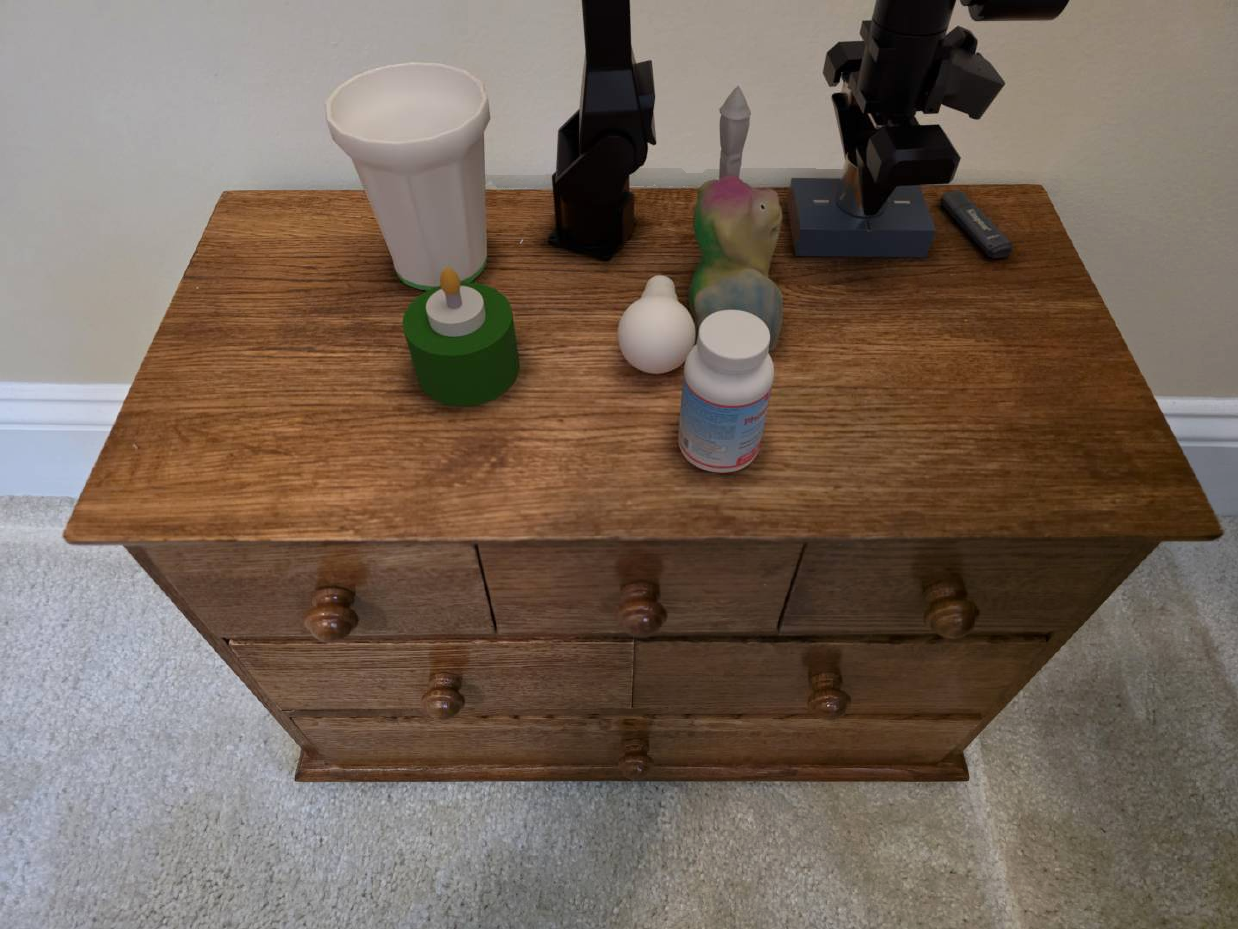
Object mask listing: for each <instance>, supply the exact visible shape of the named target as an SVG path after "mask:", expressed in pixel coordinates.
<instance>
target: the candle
mask: <svg viewBox="0 0 1238 929" xmlns="http://www.w3.org/2000/svg"><path fill="white" fill-rule="evenodd" d="M440 285H441V286H438V287H435V288H432V289H430V290H428V291H427V290H425V291H424V292H422V293H421V294H420V295H419V296H417V297H415V298H414V299H413V301H411V302H410V303H409V304H408V306H407V308H406V309H405V311H404V314H403V317H402V324H401V326H402V330H403V333H404V336H405V340H406V343H407V347H408V350H409V351H408V352H409V354H410V358H411V362H412V365H413V368H414V372H415V376H416V379H417V383H418V385H419V387H420V388H421V391H422V392H424V393H425V395H426V396H427V397H429V398H430V399H431V400H433V401H434V402H438V403H440V404H443V405H445V406H451V407H472V406H473V407H475V406H479V405H483V404H487V403H489V402H491V401H493V400H496V399H498V398H499V397H500V396H502V395H503V394H505V393H506V392H507V391H508V390H510V388H511V387H512V386H513V385H514V383H515V382H516V380H517V378H518V376H519V372H520V369H521V368H520V358H519V357H520V356H519V351H518V343H517V336H516V330H515V322H514V315H513V308H512V306H511V303H510V301H509V300H508V298H507V297H506V296H505V294H503V293H501V291H499V290H497V289H496V288H494V287H492V286H489V285H486V284H483V283H479V282H473V281H471V282H460V279H459V277H458V275H457V274H456V272H455V271H454V270H452V269H450V268H446V269H444V270H443V272H442V274H441V277H440Z"/></svg>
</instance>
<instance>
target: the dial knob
mask: <svg viewBox="0 0 1238 929" xmlns="http://www.w3.org/2000/svg"><path fill="white" fill-rule="evenodd" d="M857 147H868V144H862V145H858V146H855V147H853V148H851V149H850V150H849V151H848V153H847V155H846V160H845V159H844V164H843V168H842V169H843V170H842V172H841V177H840V178H841V181H840V185H839V189H838V193H837V197H836V201H837V204H838V206H839V207H840V208H841V209H842V210H843V211H845V212H847V213H849V214H851V215H854V216H859V217H872V216H877V215H879V214H881V213H882V212H884V211H885V209H886V208H887V204H888V201H889V198H890V196H889V198H888V199H887V200H886V202H885V203H884V205H883V206H882V207H881V209H880V210H879V211H878V213H877V214H876V215H864V212H863V206H862V199H861V190H860V181H859V172H858V164H857V155H856V148H857Z"/></svg>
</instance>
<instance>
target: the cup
mask: <svg viewBox="0 0 1238 929" xmlns="http://www.w3.org/2000/svg"><path fill="white" fill-rule="evenodd" d="M490 109H491V108H490V101H489V97H488V94H487V90H486V88H485V85H484V83H483V82H482V81H480V80H479V79H478V78H477V77H476V76H474V75H473V74H472V73H470V72H469V71H468V70H465V69H462V68H459V67H455V66H452V65H448V64H445V63H440V62H439V63H438V62H423V61H410V62H402V63H392V64H386V65H382V66H378V67H376V68H372V69H369V70H366V71H363V72H360V73H358V74H355V75H354V76H352V77H350V78H349V79H348V80H346V81H344V82H343V83H341V84H340V85H338V86H336V87H335V89H334V90H333V92H332V94H330V95H329V97H328V99H327V100H326V101H325V103H324V110H325V121H326V124H327V127H328V130H329V132H330V135H331V138H332V141H333V142H334V143H335V144H336V145H337V146H338V147H339V149H341V150H342V151H343V152H344V153H345V154H346V155H347V156H348V157H349V158H350V160H351V162H352V164H353V166H354V168H355V172H356V174H357V176H358V179H359V181H360V184H361V185H362V189H363V191H364V194H365V195H366V198H367V201H368V203H369V205H370V208H371V210H372V213H373V215H374V218H375V220H376V222H377V225H378V227H379V230H380V232H381V233H382V237H383V239H384V242H385V244H386V247H387V249H388V251H389V254H390V256H391V258H392V264H393V267H394V271H395V274H396V275H397V276H398V278H399V279H400V280H401V281H402V282H403V283H404V284H405V285H408V286H409V287H412V288H415V289H417V290H421V291H428V290H430V289H432V288H435V287H438V286H441V285H440V277H441V274H442V272H443V270H444V269H446V268H450V269H452V270H454V271H455V272H456V274H457V275H458V277H459V279H460V282H473V281H474V280H475V279H476V278H477V277H479V275H481V273H482V272H483V271H484V269H485V267H486V265H487V262H488V238H487V236H488V234H487V203H486V202H487V198H486V195H487V194H486V158H485V156H486V155H485V131H486V129H487V127H488V125H489V123H490V121H491V111H490Z"/></svg>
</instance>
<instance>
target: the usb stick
mask: <svg viewBox="0 0 1238 929" xmlns="http://www.w3.org/2000/svg"><path fill="white" fill-rule="evenodd" d="M939 203H940V205H941V206H942V207H943V208H944V209H945V210H946V212H947V213H949V215H950V216H951V218H952V219H954V221H955V222H956V223H957V225H959V226H960V227H961V228H962V229H963V231H964V232H966V234H967V235H968V237H969V238H970V239H971V240H972V241H973V242H974V243H975V244H976V245H977V246H978V248H980V249H981V251H982V252H983V253H984V254H985V255H986V256H987V257H988V258H991V259H1000V258H1005V257H1008V256H1010V255H1011V254H1012V252H1013V247H1014V246H1013V243H1012V242H1011V240H1010V239H1009V238H1008V237H1007V236H1006V235H1005V234H1004V233H1003V232H1002V231H1001V230H1000V229H999V228H998V227H997V226H996V224H994V222H993V221H992V220H991V219H990V218H989V217H988V216H987V215H986V214H985V213H984V212H983V211H982V209H981V208H980V207H979V206H977V204H976V203H975V202H974V201H973V200H972V199H971V198H970V197H969V196H968V194H966V192H965V191H964V190H962V189H954V190H951V191H949V192H945V193H944V194H942V196H941V198H940V202H939Z"/></svg>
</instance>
